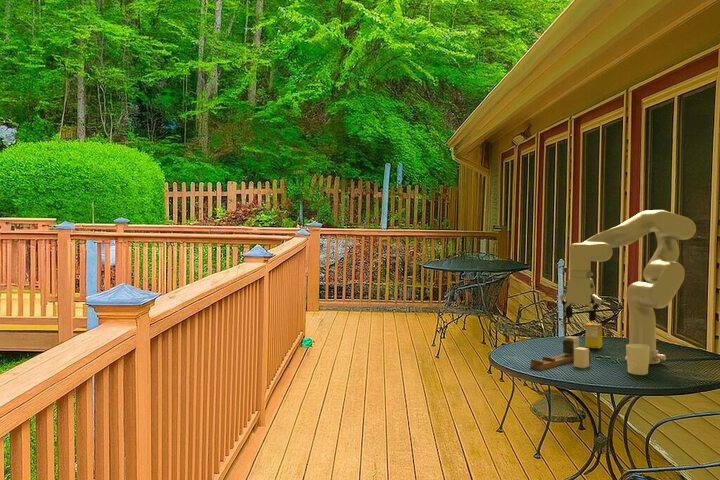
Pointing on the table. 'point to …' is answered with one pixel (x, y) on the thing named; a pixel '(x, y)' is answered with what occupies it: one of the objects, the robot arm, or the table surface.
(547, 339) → the table surface
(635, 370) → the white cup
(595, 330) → the supplement box
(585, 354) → the cream brown block
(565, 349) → the rail
